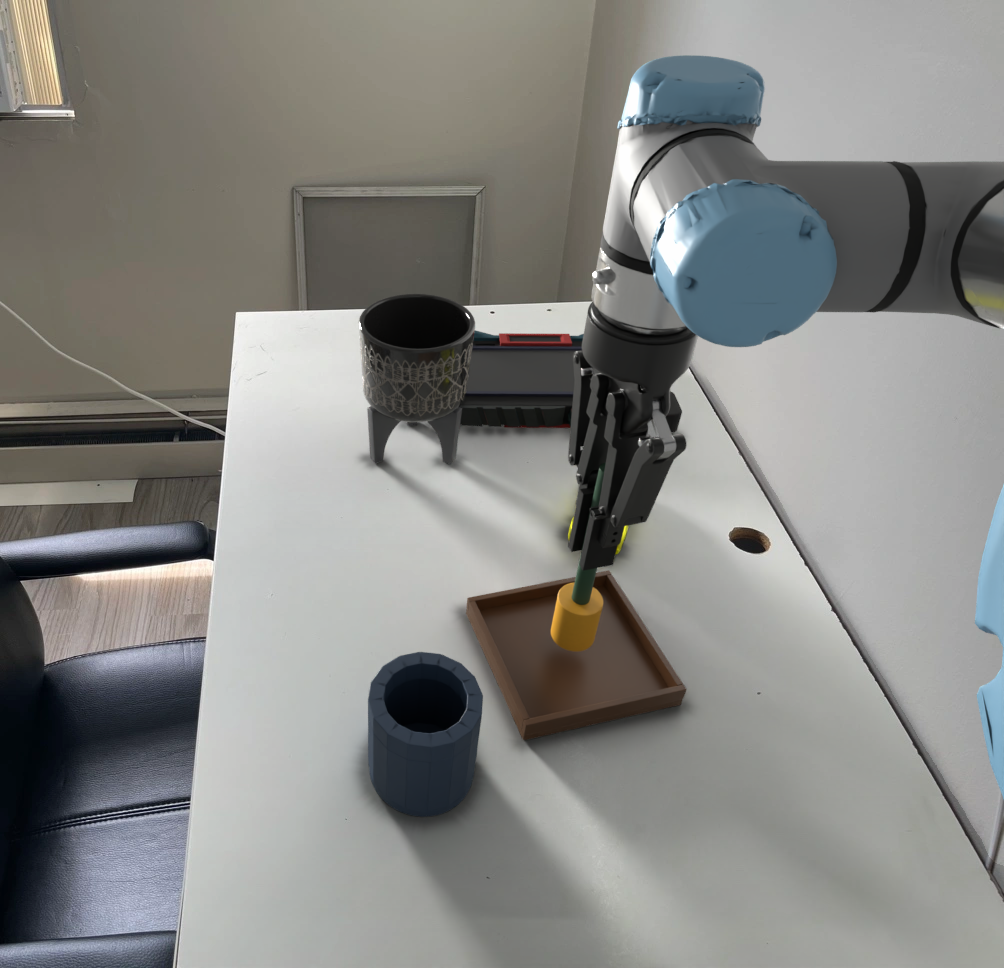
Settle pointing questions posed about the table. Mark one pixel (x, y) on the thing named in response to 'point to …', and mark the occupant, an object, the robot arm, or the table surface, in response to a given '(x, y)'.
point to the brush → (579, 601)
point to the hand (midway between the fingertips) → (590, 555)
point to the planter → (415, 366)
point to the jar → (423, 732)
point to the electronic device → (526, 382)
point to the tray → (571, 660)
